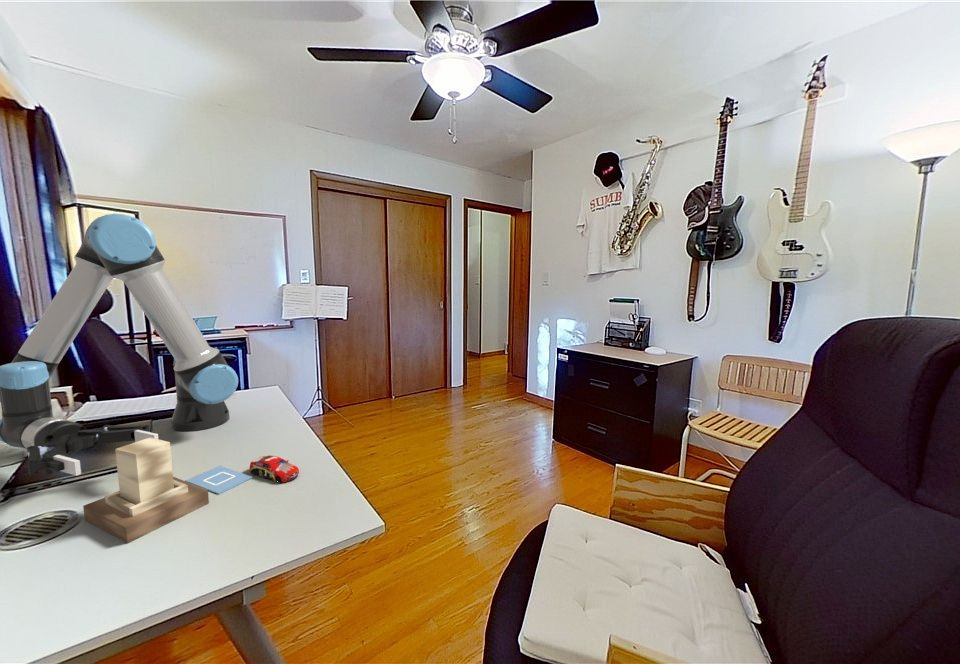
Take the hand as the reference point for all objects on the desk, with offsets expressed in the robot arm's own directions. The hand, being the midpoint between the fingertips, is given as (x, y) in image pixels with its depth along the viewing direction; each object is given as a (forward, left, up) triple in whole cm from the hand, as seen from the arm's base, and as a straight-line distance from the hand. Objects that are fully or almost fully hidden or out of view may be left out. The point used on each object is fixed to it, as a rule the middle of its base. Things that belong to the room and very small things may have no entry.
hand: (120, 453), depth 80 cm
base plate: (-1, +8, -11) cm, 13 cm away
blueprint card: (-15, +8, -11) cm, 20 cm away
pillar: (-1, +8, -8) cm, 11 cm away
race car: (-22, +16, -11) cm, 30 cm away
